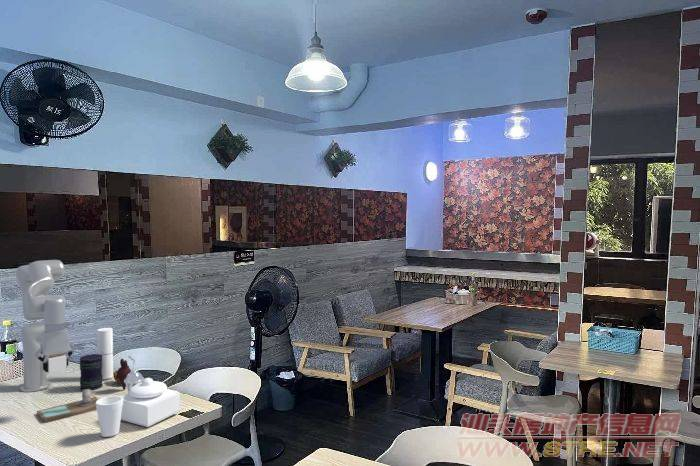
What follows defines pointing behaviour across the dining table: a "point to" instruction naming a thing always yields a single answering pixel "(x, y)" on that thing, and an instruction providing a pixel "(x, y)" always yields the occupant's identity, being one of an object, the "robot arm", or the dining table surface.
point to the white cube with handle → (56, 363)
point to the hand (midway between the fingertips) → (55, 369)
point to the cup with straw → (133, 377)
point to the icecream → (123, 372)
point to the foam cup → (109, 414)
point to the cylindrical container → (106, 350)
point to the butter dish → (149, 403)
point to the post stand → (69, 408)
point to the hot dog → (116, 378)
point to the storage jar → (91, 372)
